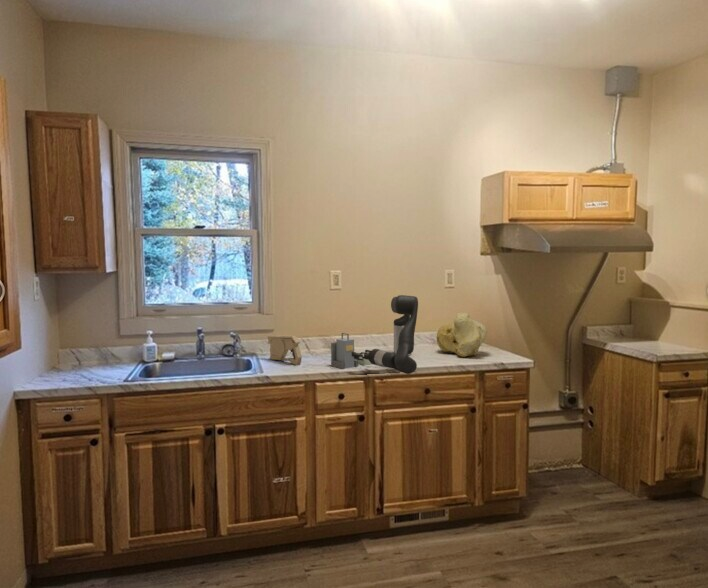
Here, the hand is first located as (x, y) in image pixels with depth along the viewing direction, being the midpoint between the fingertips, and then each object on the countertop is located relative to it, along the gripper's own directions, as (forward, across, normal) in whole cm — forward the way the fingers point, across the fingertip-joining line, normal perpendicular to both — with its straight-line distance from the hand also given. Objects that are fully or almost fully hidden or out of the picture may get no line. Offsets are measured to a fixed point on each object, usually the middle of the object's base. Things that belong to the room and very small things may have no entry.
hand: (358, 352), depth 249 cm
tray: (+13, -15, +8) cm, 22 cm away
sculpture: (-7, -70, +9) cm, 71 cm away
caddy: (+11, 0, +9) cm, 14 cm away
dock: (+11, 0, +9) cm, 14 cm away
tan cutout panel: (+41, +18, +9) cm, 46 cm away
